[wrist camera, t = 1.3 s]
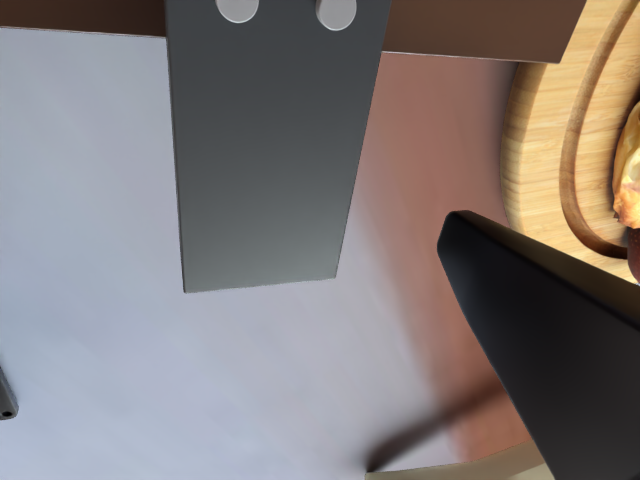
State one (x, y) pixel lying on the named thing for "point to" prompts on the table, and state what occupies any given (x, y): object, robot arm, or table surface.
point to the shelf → (400, 37)
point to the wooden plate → (580, 143)
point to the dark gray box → (268, 133)
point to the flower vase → (481, 467)
